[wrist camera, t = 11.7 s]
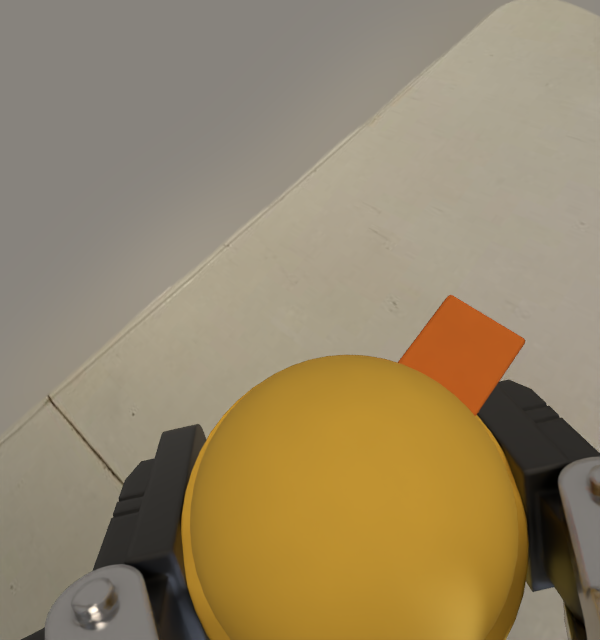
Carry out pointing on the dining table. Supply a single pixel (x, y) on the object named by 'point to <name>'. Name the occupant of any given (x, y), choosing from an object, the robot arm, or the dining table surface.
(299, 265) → the dining table surface
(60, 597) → the robot arm
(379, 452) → the yellow duck figurine
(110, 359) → the dining table surface
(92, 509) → the dining table surface
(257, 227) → the dining table surface
